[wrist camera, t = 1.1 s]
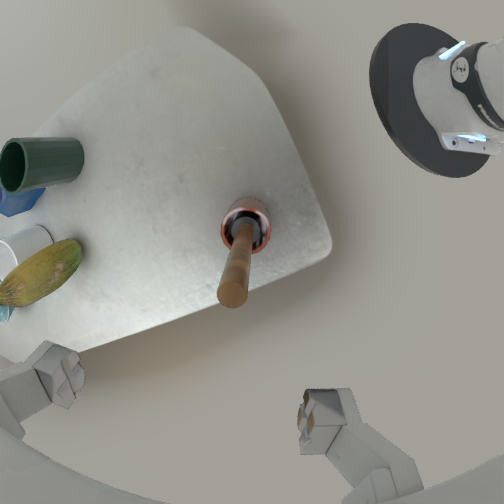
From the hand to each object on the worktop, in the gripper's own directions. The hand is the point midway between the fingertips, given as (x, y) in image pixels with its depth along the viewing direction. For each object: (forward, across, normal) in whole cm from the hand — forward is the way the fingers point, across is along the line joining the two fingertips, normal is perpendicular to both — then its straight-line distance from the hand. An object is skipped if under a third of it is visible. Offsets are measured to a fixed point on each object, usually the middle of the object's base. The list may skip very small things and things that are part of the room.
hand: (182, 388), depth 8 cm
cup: (+31, +29, -7) cm, 43 cm away
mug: (+31, +39, +9) cm, 51 cm away
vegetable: (+31, +27, +8) cm, 42 cm away
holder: (+31, -1, +1) cm, 31 cm away
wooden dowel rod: (+30, -1, +1) cm, 30 cm away
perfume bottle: (+31, +39, -3) cm, 50 cm away
